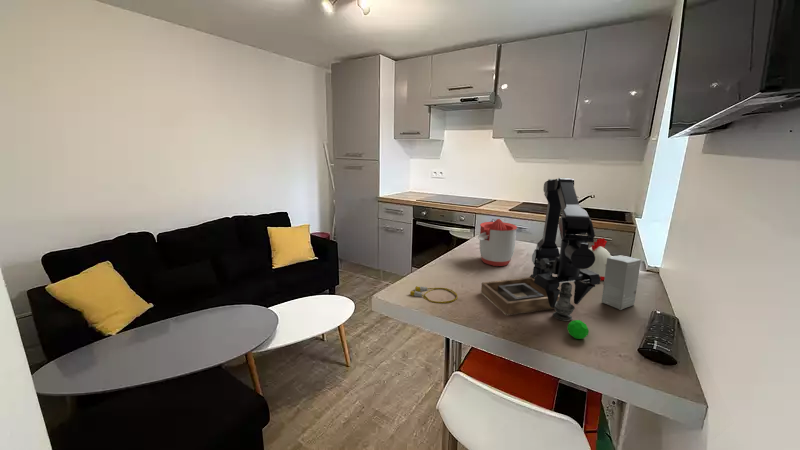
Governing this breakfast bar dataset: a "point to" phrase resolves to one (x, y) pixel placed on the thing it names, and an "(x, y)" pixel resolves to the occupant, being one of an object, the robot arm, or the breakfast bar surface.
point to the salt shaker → (564, 303)
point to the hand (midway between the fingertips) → (563, 305)
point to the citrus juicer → (497, 242)
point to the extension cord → (419, 289)
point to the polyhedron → (577, 329)
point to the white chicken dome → (599, 258)
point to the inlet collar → (509, 290)
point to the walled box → (516, 306)
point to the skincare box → (620, 281)
